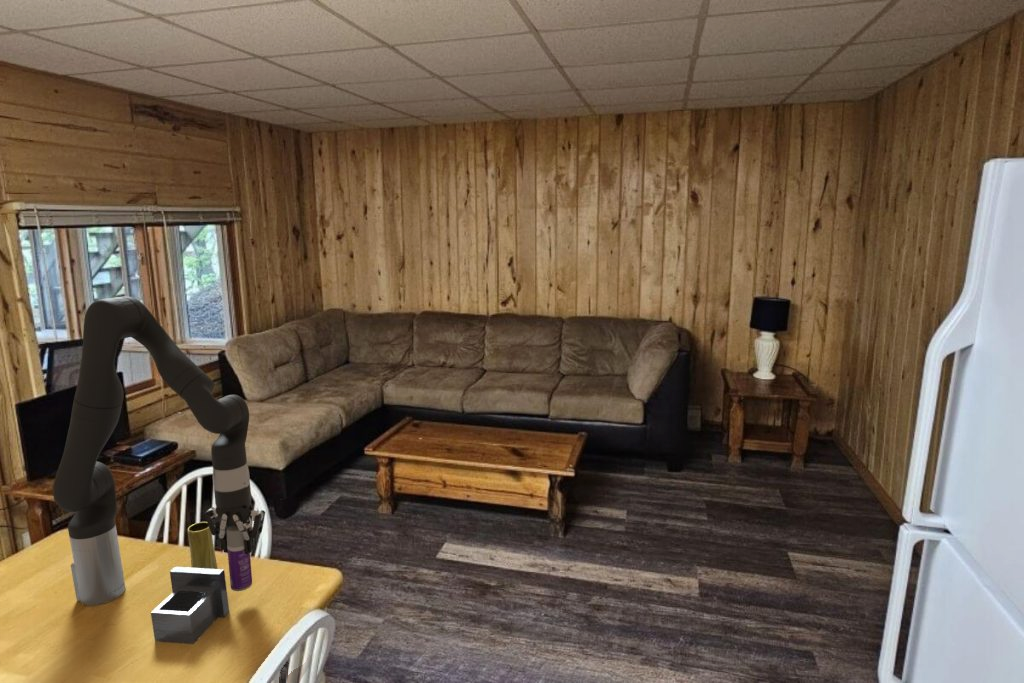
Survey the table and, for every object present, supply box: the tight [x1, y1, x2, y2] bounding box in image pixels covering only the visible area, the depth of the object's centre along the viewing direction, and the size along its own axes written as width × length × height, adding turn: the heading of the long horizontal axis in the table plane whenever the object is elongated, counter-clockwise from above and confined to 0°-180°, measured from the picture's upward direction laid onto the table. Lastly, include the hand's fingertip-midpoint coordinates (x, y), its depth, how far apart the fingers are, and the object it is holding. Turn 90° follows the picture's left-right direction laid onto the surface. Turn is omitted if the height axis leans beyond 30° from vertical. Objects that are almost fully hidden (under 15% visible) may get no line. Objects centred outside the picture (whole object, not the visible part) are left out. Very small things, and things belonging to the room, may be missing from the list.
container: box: [226, 524, 253, 592], centre depth 143 cm, size 5×5×15 cm
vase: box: [186, 521, 219, 569], centre depth 155 cm, size 6×6×14 cm
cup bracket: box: [150, 566, 230, 645], centre depth 137 cm, size 12×11×11 cm
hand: (238, 551), depth 143 cm, fingers closed on container, 4 cm apart
